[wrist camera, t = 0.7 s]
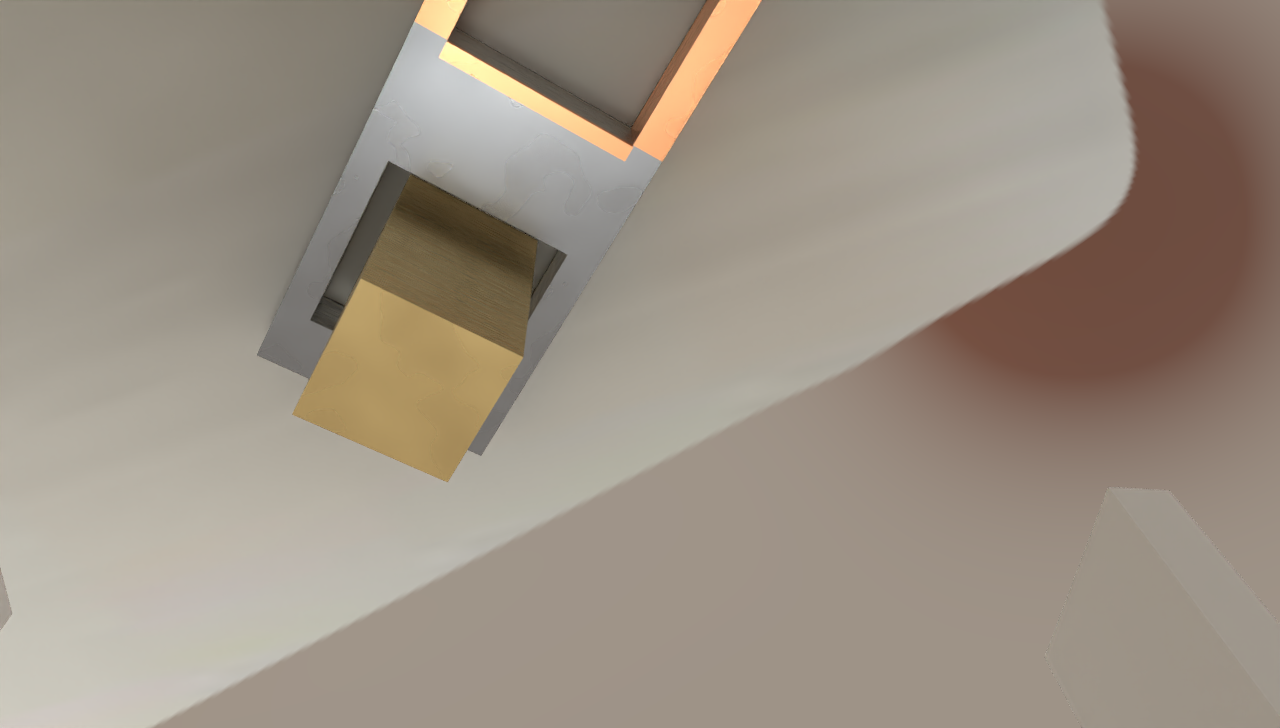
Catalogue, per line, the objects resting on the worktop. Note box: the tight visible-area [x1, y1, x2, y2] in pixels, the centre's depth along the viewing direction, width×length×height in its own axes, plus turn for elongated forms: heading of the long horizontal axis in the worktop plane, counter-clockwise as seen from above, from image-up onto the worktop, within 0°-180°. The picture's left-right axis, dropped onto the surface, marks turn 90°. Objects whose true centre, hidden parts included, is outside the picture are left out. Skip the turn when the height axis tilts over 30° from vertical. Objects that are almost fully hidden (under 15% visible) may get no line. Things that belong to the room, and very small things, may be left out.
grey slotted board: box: [257, 0, 761, 456], centre depth 31 cm, size 8×20×2 cm, turn 149°
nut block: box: [292, 175, 537, 482], centre depth 30 cm, size 4×4×8 cm
